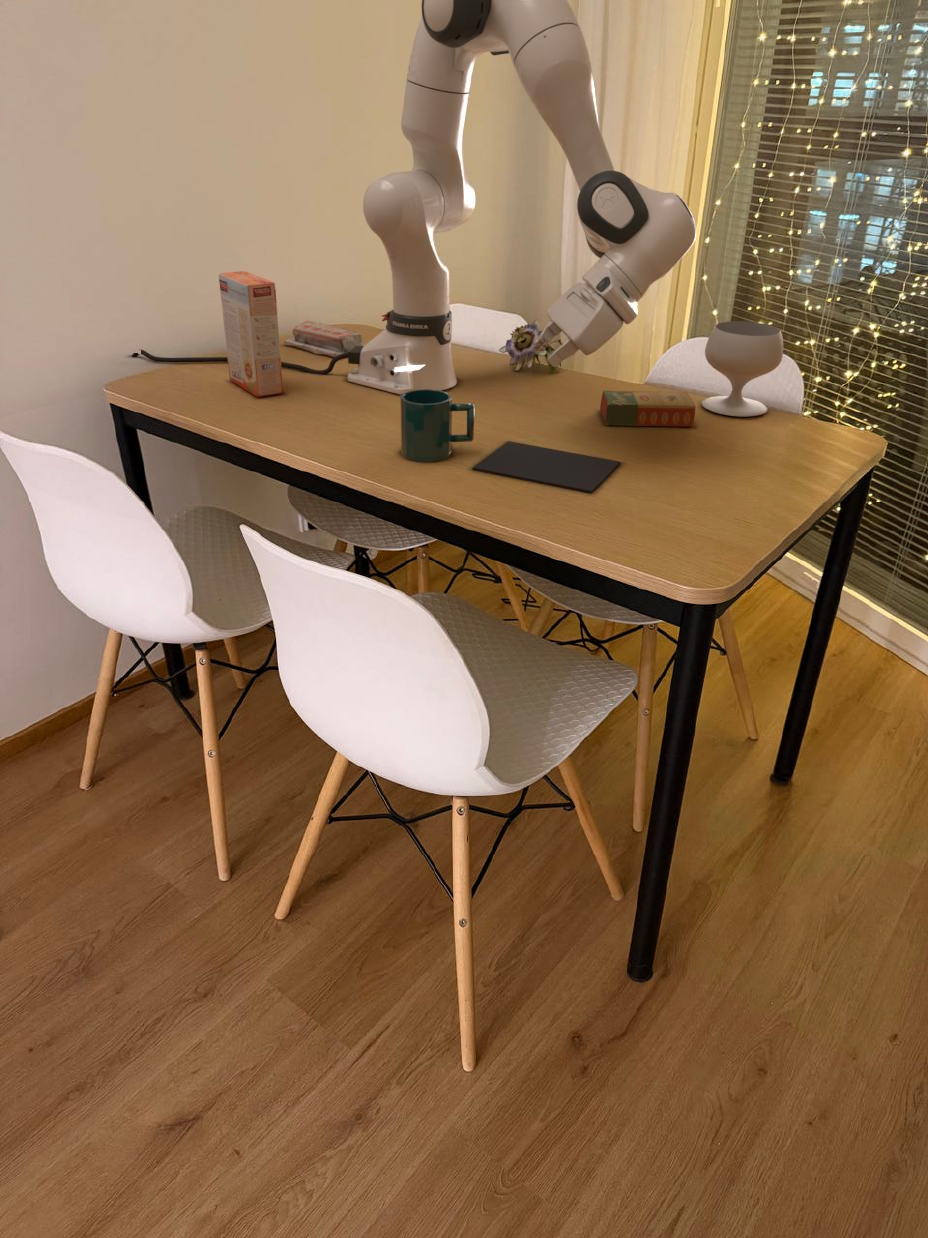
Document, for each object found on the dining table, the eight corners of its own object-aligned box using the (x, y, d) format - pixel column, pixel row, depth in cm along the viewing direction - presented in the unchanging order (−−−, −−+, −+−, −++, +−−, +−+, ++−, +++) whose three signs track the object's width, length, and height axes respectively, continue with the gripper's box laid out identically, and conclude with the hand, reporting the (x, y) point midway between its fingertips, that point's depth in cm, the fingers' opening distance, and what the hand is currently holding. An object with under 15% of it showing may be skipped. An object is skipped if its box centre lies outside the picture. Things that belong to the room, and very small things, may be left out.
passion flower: (518, 395, 197) (487, 347, 194) (540, 374, 204) (511, 328, 201) (556, 374, 189) (525, 323, 186) (578, 353, 196) (548, 304, 193)
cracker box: (285, 393, 177) (276, 281, 167) (256, 398, 174) (245, 284, 164) (256, 376, 187) (246, 269, 176) (228, 380, 184) (216, 271, 173)
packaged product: (369, 329, 203) (336, 337, 197) (369, 351, 206) (337, 360, 199) (314, 316, 213) (281, 324, 206) (315, 337, 216) (283, 345, 209)
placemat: (472, 469, 145) (472, 467, 144) (508, 443, 155) (508, 440, 155) (591, 493, 137) (591, 490, 137) (620, 463, 148) (620, 461, 148)
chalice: (727, 423, 166) (741, 340, 159) (682, 401, 177) (693, 322, 170) (787, 415, 171) (804, 334, 164) (740, 394, 182) (753, 317, 175)
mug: (403, 462, 147) (402, 405, 142) (399, 445, 154) (398, 389, 149) (477, 460, 148) (478, 403, 143) (469, 442, 155) (471, 387, 150)
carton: (693, 428, 164) (697, 404, 162) (604, 425, 164) (606, 402, 162) (685, 413, 171) (688, 390, 169) (599, 411, 171) (601, 388, 169)
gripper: (579, 263, 149) (518, 325, 152) (614, 288, 131) (544, 357, 135) (603, 291, 152) (542, 352, 155) (640, 319, 134) (571, 386, 138)
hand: (543, 355), depth 145 cm, fingers open, 8 cm apart
